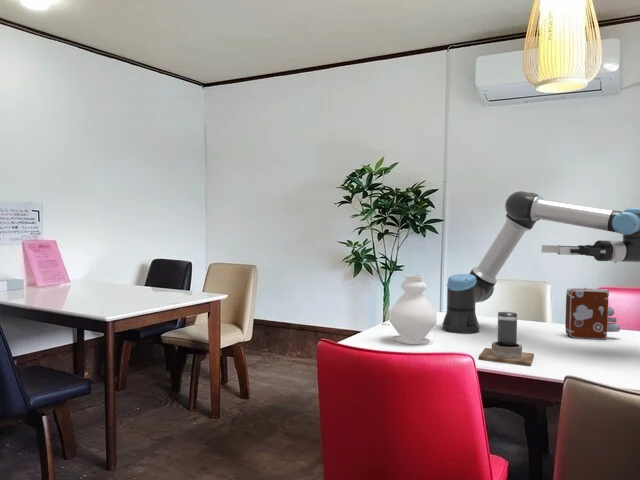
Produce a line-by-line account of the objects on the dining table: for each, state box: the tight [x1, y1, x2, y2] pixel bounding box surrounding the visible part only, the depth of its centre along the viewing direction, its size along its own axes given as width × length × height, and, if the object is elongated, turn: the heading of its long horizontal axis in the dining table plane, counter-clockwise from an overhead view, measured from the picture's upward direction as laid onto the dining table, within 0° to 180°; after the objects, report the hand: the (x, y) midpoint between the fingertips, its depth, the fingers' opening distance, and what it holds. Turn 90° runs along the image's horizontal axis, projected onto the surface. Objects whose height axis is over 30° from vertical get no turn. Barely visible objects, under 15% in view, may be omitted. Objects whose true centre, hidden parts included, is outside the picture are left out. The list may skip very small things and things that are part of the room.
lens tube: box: [497, 311, 518, 347], centre depth 171 cm, size 6×6×14 cm
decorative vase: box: [388, 274, 438, 345], centre depth 194 cm, size 18×18×25 cm
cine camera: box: [565, 287, 621, 340], centre depth 206 cm, size 9×19×20 cm, turn 78°
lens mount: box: [477, 341, 535, 367], centre depth 171 cm, size 16×14×4 cm
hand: (550, 249), depth 184 cm, fingers open, 13 cm apart
